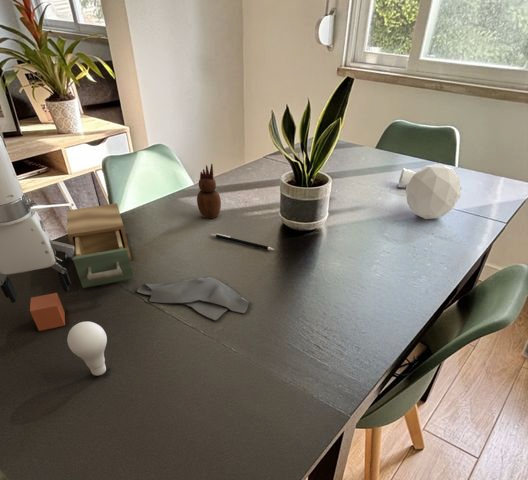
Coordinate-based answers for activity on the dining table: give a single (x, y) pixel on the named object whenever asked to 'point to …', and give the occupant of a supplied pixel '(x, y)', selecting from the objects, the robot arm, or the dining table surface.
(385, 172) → the dining table surface
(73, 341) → the lightbulb
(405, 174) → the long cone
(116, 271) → the drawer
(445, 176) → the geometric sphere
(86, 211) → the cabinet
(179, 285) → the cloth
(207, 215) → the wooden figurine
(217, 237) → the pen
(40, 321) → the block
